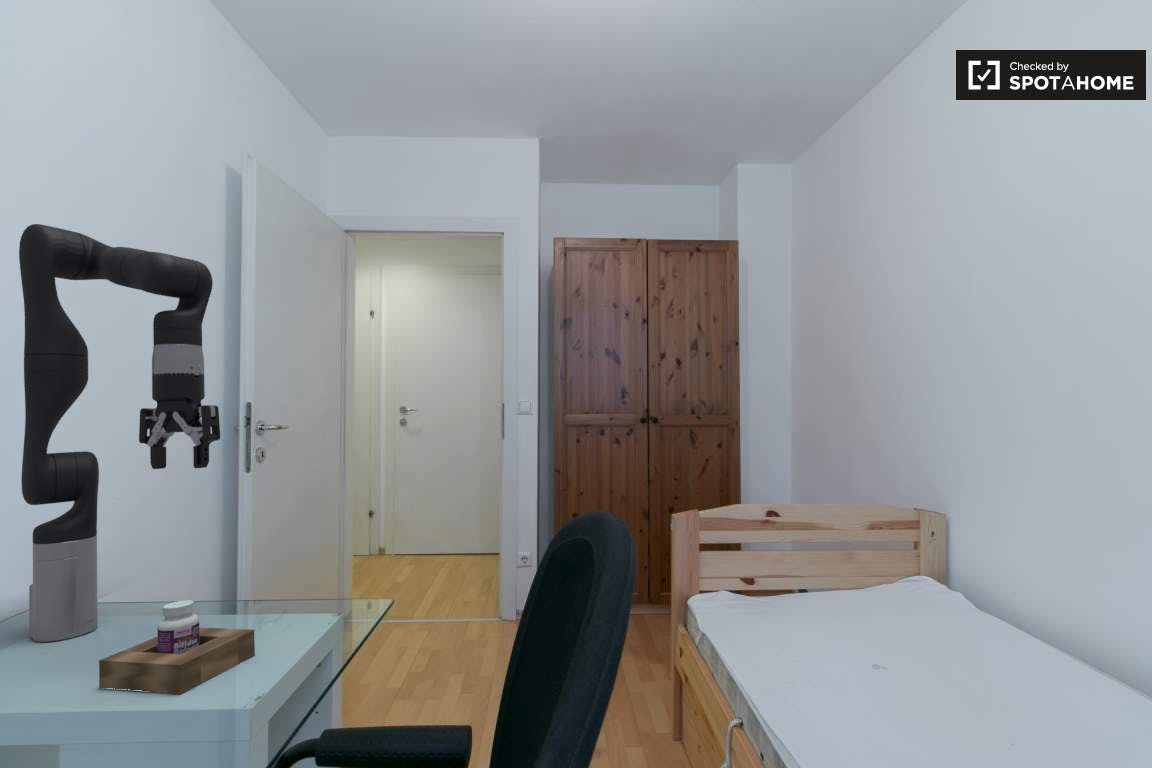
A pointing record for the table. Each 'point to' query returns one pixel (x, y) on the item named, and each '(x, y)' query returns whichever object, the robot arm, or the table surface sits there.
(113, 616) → the table surface
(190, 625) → the pill bottle
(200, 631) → the well block
